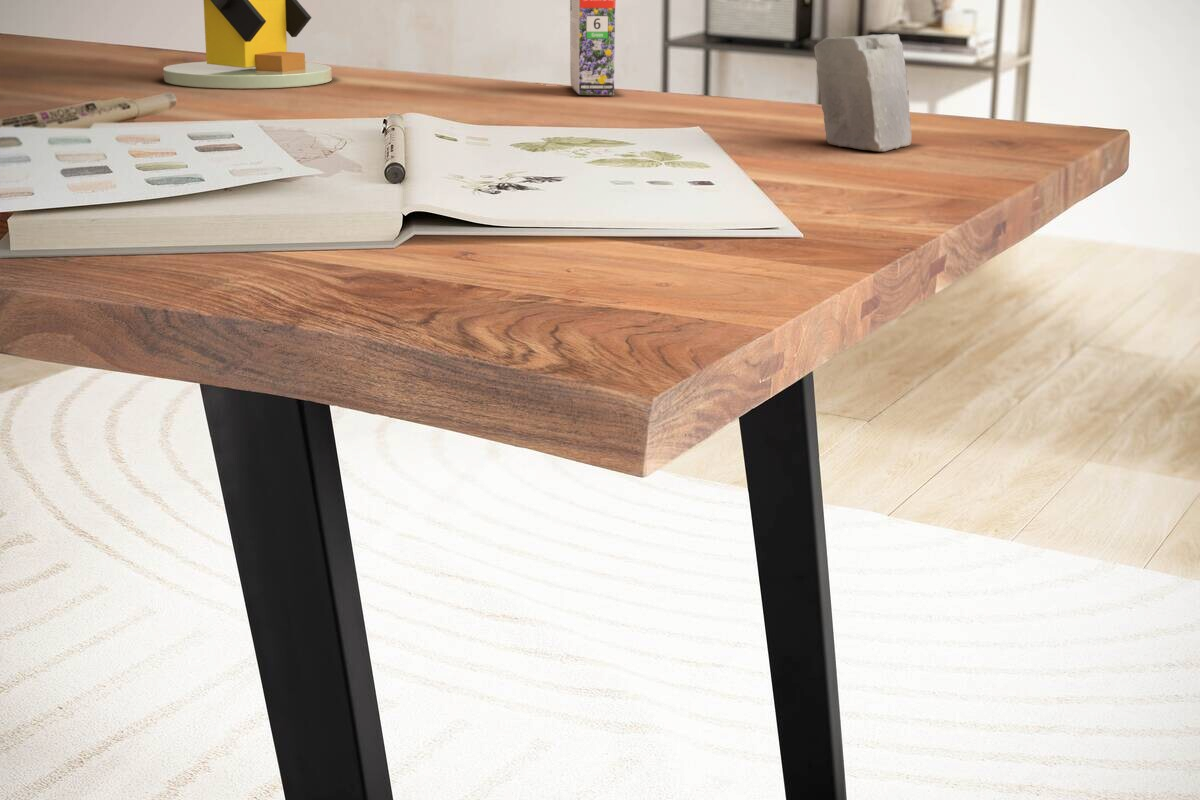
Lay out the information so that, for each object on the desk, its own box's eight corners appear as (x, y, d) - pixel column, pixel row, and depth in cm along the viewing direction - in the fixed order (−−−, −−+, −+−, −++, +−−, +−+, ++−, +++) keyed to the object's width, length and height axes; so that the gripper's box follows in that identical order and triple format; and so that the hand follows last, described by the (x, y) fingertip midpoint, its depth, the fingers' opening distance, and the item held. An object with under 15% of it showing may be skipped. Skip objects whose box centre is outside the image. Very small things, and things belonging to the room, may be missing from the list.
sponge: (206, 63, 123) (200, -58, 119) (249, 58, 129) (245, -57, 125) (245, 68, 122) (241, -55, 118) (287, 62, 128) (284, -54, 124)
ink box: (605, 87, 126) (608, -71, 121) (616, 96, 118) (619, -72, 114) (568, 87, 125) (569, -72, 120) (576, 96, 118) (578, -73, 113)
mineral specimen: (924, 129, 95) (933, 21, 91) (890, 170, 89) (898, 55, 85) (829, 118, 98) (834, 13, 94) (789, 157, 92) (793, 45, 88)
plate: (131, 84, 120) (130, 71, 119) (212, 70, 135) (211, 58, 134) (292, 91, 117) (291, 78, 117) (355, 75, 132) (355, 63, 132)
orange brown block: (255, 70, 123) (254, 54, 123) (279, 67, 127) (278, 51, 126) (282, 72, 122) (281, 55, 122) (305, 68, 126) (304, 52, 125)
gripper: (171, -118, 133) (314, 49, 134) (29, -129, 116) (193, 64, 116) (209, -174, 130) (356, -2, 130) (68, -195, 112) (238, 5, 112)
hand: (279, 29), depth 123 cm, fingers closed on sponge, 7 cm apart
